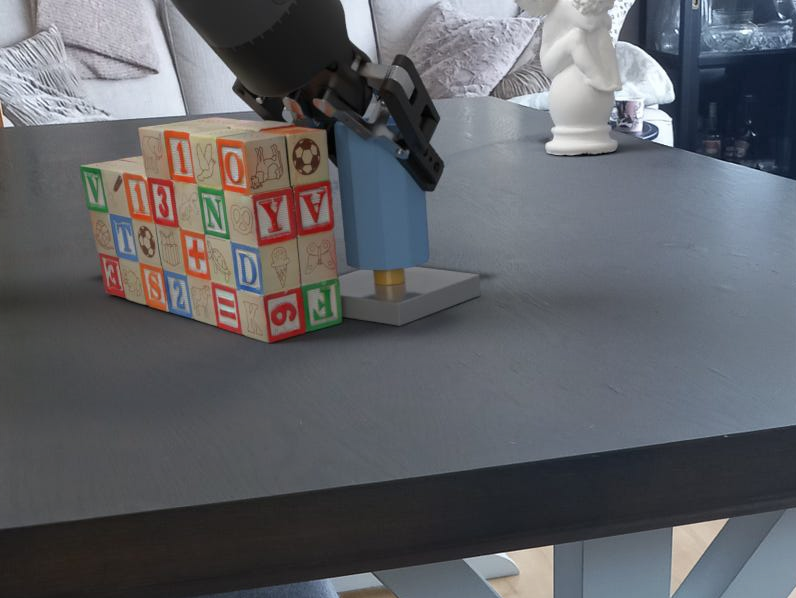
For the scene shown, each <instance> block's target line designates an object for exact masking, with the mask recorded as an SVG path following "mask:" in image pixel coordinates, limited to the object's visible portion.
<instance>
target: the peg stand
mask: <svg viewBox="0 0 796 598" xmlns="http://www.w3.org/2000/svg"><path fill="white" fill-rule="evenodd" d="M337 277H338V278H339V282H340V294H341V309H342V318H347V319H353V320H360V321H366V322H372V323H378V324H385V325H392V326H397V327H401V326H404V325H407V324H409V323H411V322H414V321H417V320H419V319H422V318H425V317H427V316H430V315H433V314H435V313H438V312H440V311H443V310H446V309H448V308H451V307H454V306H457V305H459V304H461V303H464V302H467V301H469V300H472V299H475V298H478V297H480V296H481V278H480V274H478V273H470V272H462V271H461V272H460V271H454V270H445V269H437V268H430V267H422V266H414V267H410V268H403V269H394V270H385V271H384V270H360V269H357V270H354V271H352V272H349V273H345V274H342V275H340V276H337Z"/></svg>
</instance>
